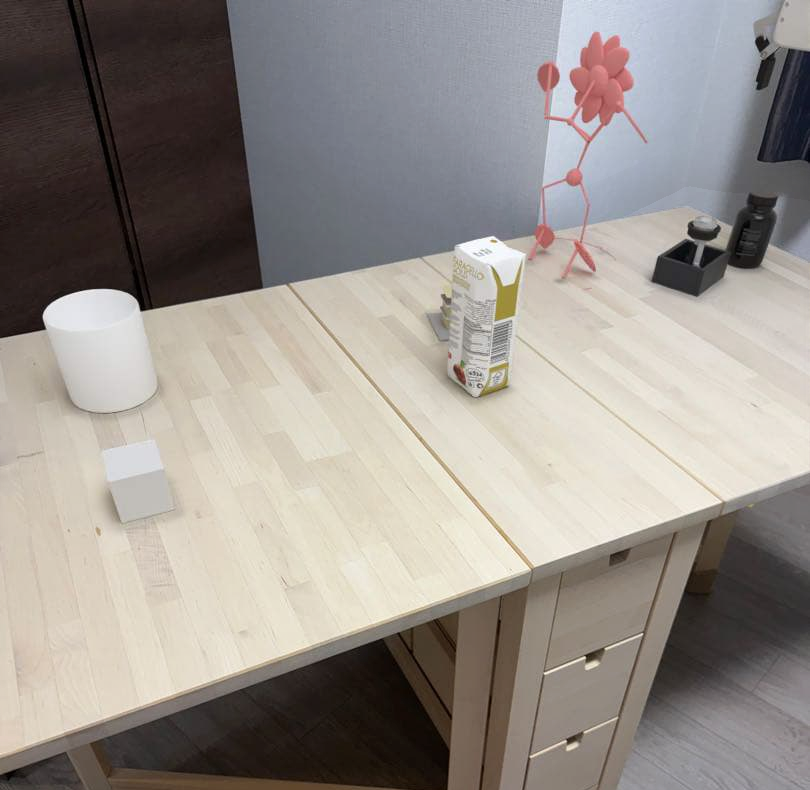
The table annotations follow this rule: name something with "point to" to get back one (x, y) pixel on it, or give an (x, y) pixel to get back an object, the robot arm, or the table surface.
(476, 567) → the table surface
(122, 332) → the cup
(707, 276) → the open box
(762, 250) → the supplement bottle
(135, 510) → the light grey cube
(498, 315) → the juice carton
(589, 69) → the figurine
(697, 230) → the push button
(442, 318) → the stacked layers on plate
